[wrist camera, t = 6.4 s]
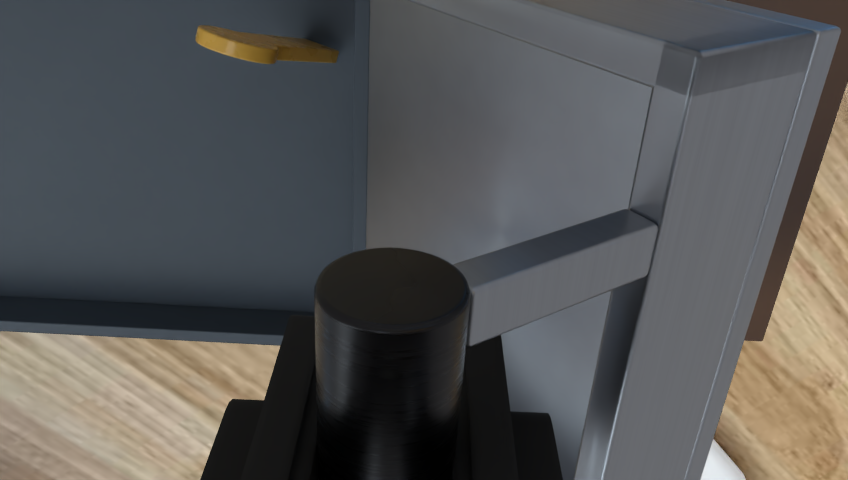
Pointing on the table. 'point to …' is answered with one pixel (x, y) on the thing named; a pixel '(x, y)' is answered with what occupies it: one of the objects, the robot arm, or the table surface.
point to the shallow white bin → (562, 225)
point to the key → (263, 46)
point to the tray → (176, 166)
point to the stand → (843, 7)
